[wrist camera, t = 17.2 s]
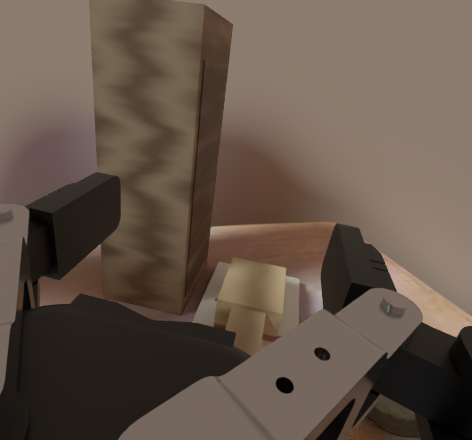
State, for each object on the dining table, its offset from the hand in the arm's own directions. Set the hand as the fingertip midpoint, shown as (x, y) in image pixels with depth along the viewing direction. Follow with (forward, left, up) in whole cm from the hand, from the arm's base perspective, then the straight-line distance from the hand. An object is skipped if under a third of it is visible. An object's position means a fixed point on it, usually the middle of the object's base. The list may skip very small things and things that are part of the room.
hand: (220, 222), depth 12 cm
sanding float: (+1, +16, -21) cm, 26 cm away
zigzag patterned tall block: (-12, +25, -23) cm, 36 cm away
